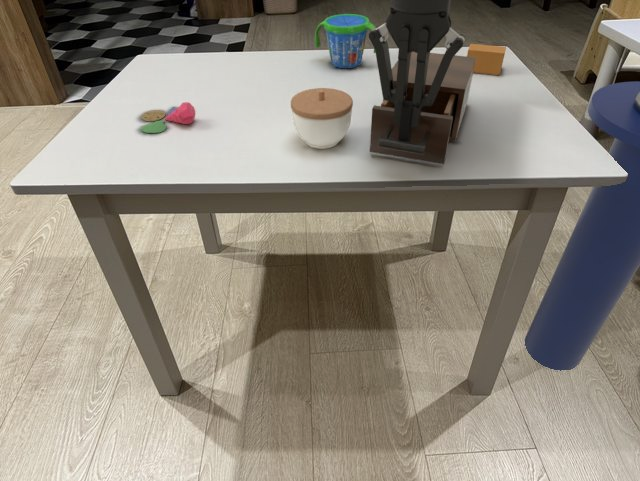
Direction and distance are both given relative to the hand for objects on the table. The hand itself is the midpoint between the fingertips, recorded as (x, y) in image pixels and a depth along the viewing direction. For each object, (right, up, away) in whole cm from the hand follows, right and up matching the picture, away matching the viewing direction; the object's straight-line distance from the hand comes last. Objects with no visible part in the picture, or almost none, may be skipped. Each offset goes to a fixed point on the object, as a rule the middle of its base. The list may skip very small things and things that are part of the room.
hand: (403, 143), depth 72 cm
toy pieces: (-43, +9, +19) cm, 48 cm away
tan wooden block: (+25, +25, +36) cm, 50 cm away
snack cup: (-7, +28, +41) cm, 50 cm away
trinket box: (-13, +3, +12) cm, 18 cm away
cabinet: (+7, +9, +18) cm, 21 cm away
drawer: (+3, +1, +8) cm, 8 cm away
